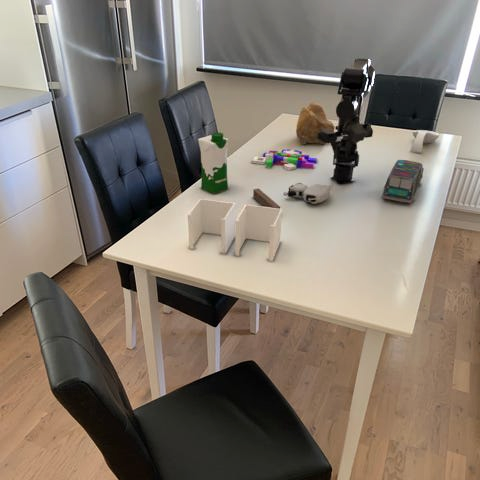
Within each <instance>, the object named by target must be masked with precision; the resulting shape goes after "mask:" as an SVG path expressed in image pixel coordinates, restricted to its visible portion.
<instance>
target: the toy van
mask: <svg viewBox="0 0 480 480" xmlns="http://www.w3.org/2000/svg"><path fill="white" fill-rule="evenodd" d="M424 170H425V168H424V166H423V163H421V162H418V161H414V160H408V159H397V160H396V162H395V163H394V165H393V166H392V168H391V171H390V172H389V174H388V176H387V178H386V181H385V184H384V186H383V191H382V195H381V198H382V199H386V200H390V201H391V200H392V201H396V202H402V203H408V204H411V203H412V202H413V200H414V197H415V194H416V193H417V191H418V188H419V187H420V186H421V180H422V179H423V175H424Z"/></svg>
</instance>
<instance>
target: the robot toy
mask: <svg viewBox="0 0 480 480" xmlns="http://www.w3.org/2000/svg"><path fill="white" fill-rule="evenodd" d="M333 187H334V185H330V186H328V185H325V184H318V183H316V184H311V185H309V186H308V185H307V184H304V183H301V182H297V183H294V184H292V185H290V186H289V187H288V191H284V192H283V194H282V195H283V196H285V197H286V196H287V197H288V198H295V199H298V198H303V200H304V201H305V202H307V203H308V202H309V203H310V204H312V205H316V204H319V203H322V202H324V201H326V200H327V199H328V198H329V197H330V192H331V188H333Z"/></svg>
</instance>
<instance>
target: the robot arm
mask: <svg viewBox="0 0 480 480" xmlns="http://www.w3.org/2000/svg"><path fill="white" fill-rule="evenodd" d="M374 79H375V68H374V67H373V66H372V65H371V60H370V59H368V58H355V59H354V63H353V64H352V66H351V67H346V68H345V69H344V70H343V71H342V72H341V74H340V79H339V85H338V89H337V95H340V96H341V99H340V101H339V102H338V104H337V105H336V108H335V113H336V114H335V115H336V117H337V118H338V122H337V125H335V129H334V131H332V130H330V129H326V130H320V131H319V133H318V138H317V139H319V140H321V141H323V142H324V143H326V144H330V146H331V149H332V152H333V156H332V157H333V158H332V165H333V166H335V167H334V168H333V174H332V176H331V180H333V181H334V182H336V183H337V184H339V185H344V184H350V183H354V182H355V180H354V179H353V174H354V168H355V169H356V168H357V167H359V163H360V154H359V150H358V145H357V144H358V143H359V142H362V141H364V140H365V139H368V138H372V137H373V134H374V130H373V127H372V124H370V123H369V122H367V123H360V121H361V117H360V116H361V112H362V107H363V102H364V99H365V97H367V96H368V94H369V93H370V90H371V87H373V86H374V85H373V84H374V81H375V80H374ZM335 130H336V131H335Z"/></svg>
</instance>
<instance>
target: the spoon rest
mask: <svg viewBox="0 0 480 480" xmlns="http://www.w3.org/2000/svg"><path fill="white" fill-rule="evenodd" d="M412 135H413V138H414V140H413V142H412V145H411V148H410V152H411V153H412V152H413V153H417V154H422V153H423V147H424V144H426V145H427V144H431V143H433V142H435V141H437V140H438V139H439V137H440V133H438V132H437V131H432V130H427V129H426V130H424V129H416V130H413V131H412Z"/></svg>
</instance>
